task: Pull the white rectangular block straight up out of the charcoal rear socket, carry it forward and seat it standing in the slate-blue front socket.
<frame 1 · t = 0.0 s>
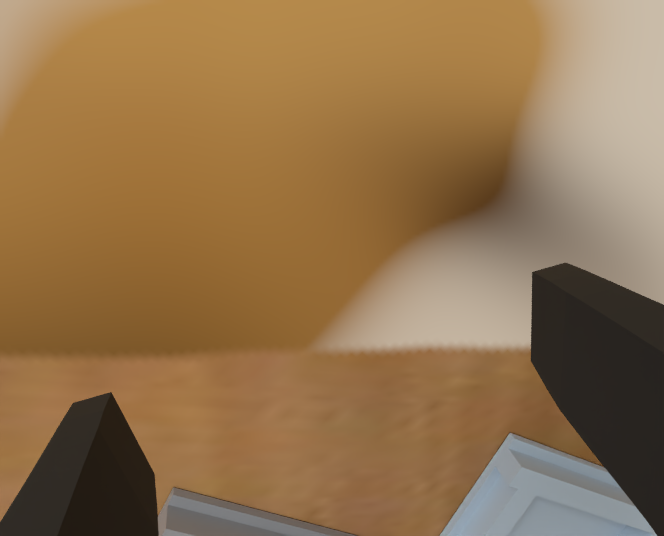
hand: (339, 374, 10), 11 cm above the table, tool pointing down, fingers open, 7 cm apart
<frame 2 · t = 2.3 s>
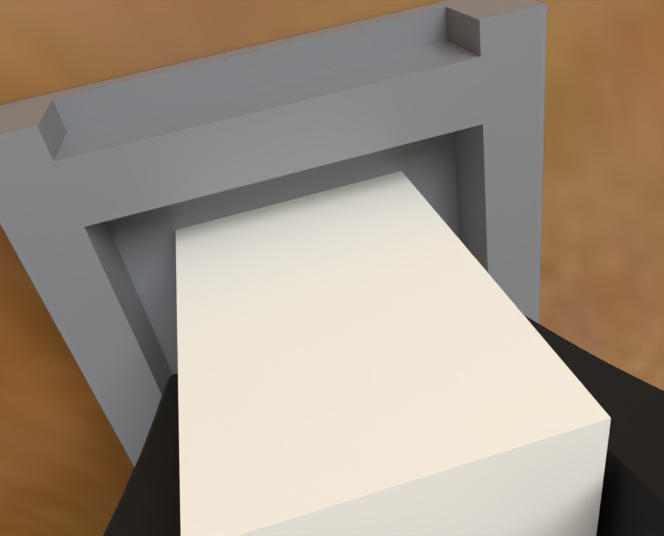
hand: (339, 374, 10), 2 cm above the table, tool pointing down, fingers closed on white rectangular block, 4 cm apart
white rectangular block: (317, 313, 12), resting on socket, touching gripper
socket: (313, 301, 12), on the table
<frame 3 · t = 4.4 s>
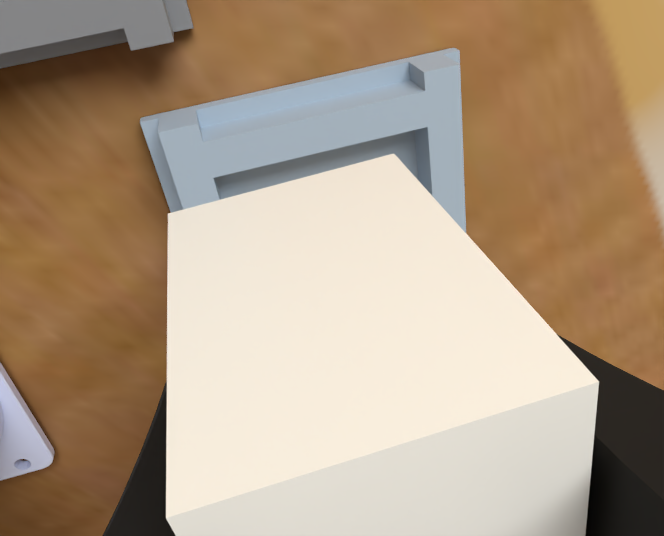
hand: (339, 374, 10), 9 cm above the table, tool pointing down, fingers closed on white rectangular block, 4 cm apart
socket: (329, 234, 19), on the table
white rectangular block: (311, 298, 12), point 7 cm above the table, touching gripper
when the fingers open (3 cm above the table, at t = 6.5 s): white rectangular block stays where it is, resting on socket.
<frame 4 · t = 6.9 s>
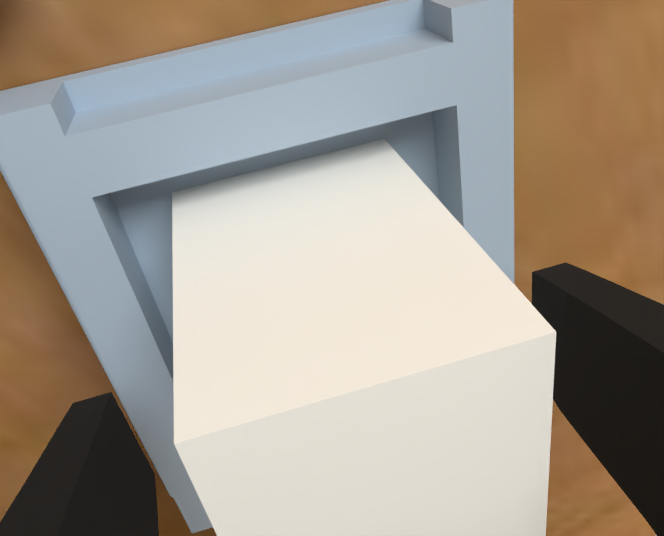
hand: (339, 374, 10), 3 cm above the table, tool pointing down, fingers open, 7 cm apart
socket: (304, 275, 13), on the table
white rectangular block: (305, 275, 12), resting on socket
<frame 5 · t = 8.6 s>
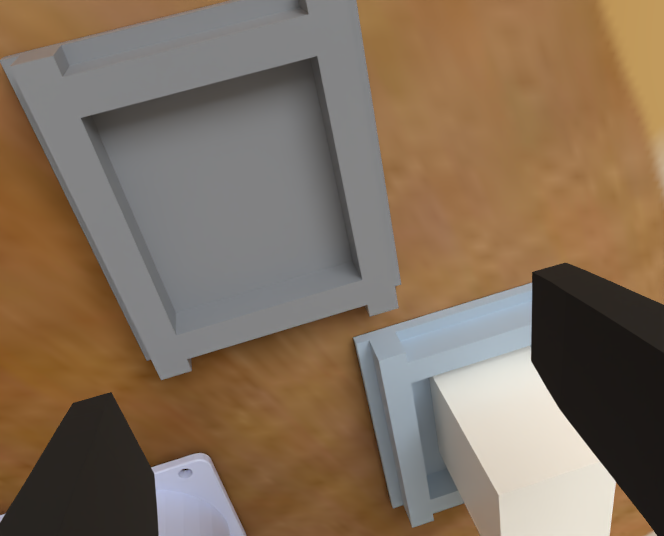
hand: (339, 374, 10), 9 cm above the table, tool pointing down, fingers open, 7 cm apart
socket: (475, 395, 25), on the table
white rectangular block: (479, 397, 25), resting on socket
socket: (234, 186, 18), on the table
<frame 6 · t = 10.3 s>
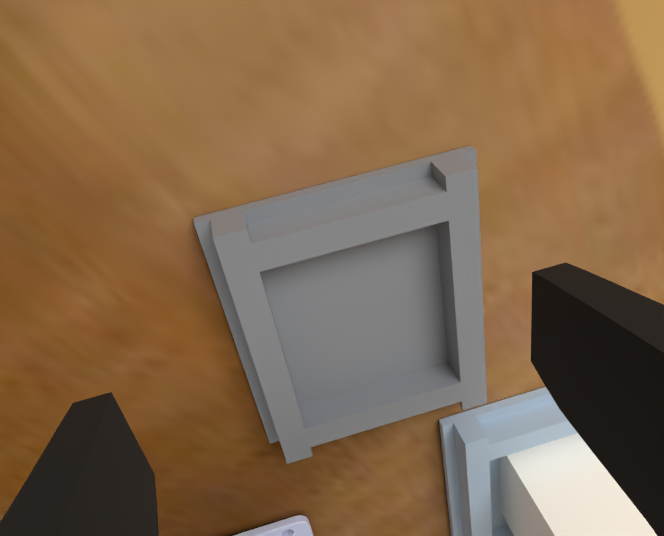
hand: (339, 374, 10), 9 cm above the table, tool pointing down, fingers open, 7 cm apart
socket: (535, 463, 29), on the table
white rectangular block: (539, 466, 28), resting on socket
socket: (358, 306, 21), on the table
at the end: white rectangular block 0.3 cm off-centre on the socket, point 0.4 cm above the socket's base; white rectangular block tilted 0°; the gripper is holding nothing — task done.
